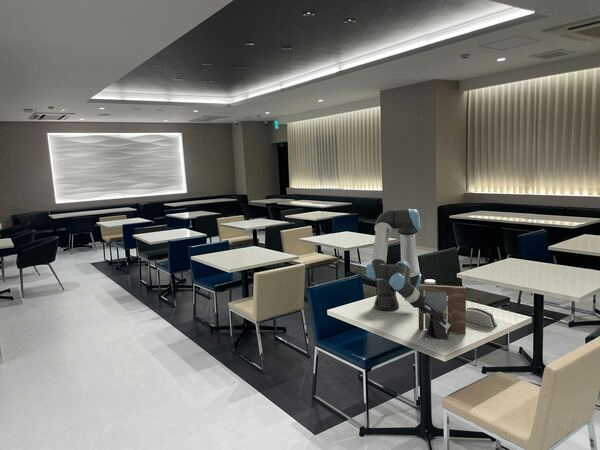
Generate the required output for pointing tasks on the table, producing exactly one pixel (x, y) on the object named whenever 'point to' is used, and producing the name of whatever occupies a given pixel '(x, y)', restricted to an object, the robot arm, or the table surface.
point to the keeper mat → (435, 338)
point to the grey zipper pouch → (480, 317)
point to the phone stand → (436, 328)
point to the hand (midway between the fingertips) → (441, 323)
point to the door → (436, 303)
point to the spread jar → (429, 283)
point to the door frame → (449, 307)
